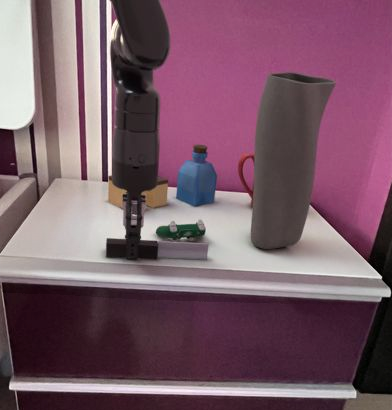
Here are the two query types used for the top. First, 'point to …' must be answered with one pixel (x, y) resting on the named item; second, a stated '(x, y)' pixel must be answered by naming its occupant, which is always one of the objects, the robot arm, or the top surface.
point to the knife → (158, 249)
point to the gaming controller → (182, 231)
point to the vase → (286, 156)
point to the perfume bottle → (197, 179)
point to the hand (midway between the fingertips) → (131, 255)
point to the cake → (152, 197)
